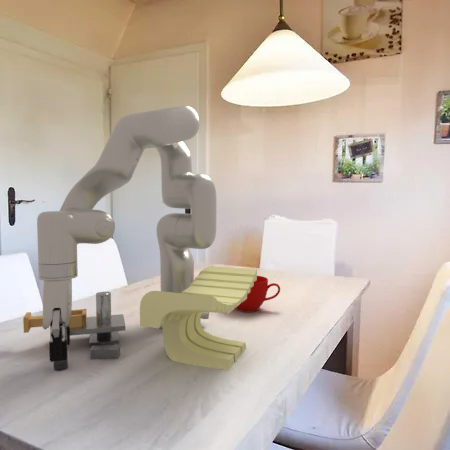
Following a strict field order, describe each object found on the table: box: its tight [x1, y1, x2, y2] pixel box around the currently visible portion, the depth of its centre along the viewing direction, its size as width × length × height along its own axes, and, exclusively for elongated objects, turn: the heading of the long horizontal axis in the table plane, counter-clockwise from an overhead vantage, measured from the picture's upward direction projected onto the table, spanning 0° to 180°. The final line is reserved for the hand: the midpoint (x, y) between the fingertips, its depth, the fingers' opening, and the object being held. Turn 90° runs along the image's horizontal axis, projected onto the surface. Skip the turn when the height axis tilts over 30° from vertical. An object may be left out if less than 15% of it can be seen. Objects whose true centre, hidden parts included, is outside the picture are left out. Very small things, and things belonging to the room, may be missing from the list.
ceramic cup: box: [236, 275, 281, 313], centre depth 129 cm, size 13×17×10 cm
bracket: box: [22, 308, 88, 334], centre depth 97 cm, size 14×6×4 cm, turn 108°
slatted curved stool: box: [139, 265, 258, 371], centre depth 92 cm, size 30×16×18 cm, turn 160°
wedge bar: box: [90, 344, 121, 360], centre depth 90 cm, size 6×3×2 cm, turn 92°
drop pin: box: [52, 324, 69, 372], centre depth 84 cm, size 3×3×9 cm
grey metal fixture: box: [70, 291, 126, 347], centre depth 100 cm, size 15×10×12 cm, turn 108°
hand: (60, 352), depth 84 cm, fingers open, 7 cm apart
